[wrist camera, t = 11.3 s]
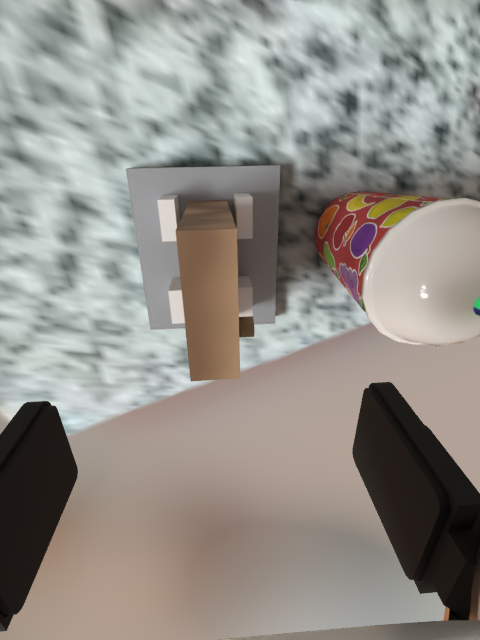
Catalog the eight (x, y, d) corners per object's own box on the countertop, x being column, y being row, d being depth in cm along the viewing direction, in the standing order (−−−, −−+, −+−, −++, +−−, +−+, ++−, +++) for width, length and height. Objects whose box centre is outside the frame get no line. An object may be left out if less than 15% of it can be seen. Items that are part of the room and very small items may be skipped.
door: (241, 199, 27) (261, 227, 16) (242, 301, 31) (259, 376, 20) (189, 201, 27) (175, 230, 16) (197, 303, 31) (190, 381, 20)
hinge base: (276, 165, 28) (288, 166, 24) (272, 316, 34) (280, 338, 30) (130, 168, 27) (115, 170, 23) (153, 322, 33) (145, 345, 29)
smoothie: (400, 250, 32) (643, 371, 14) (318, 287, 33) (448, 443, 15) (379, 163, 28) (671, 174, 10) (289, 206, 29) (412, 286, 11)
